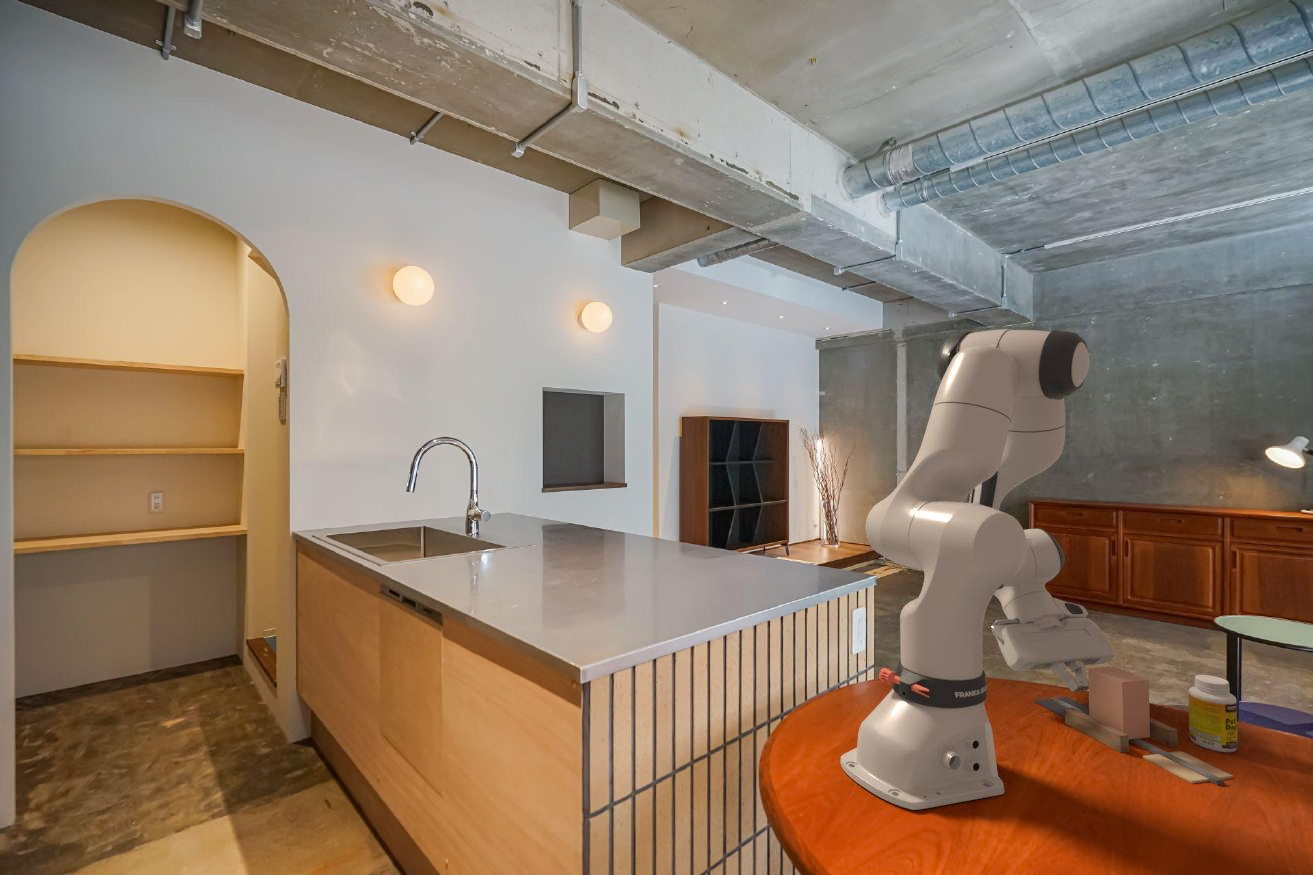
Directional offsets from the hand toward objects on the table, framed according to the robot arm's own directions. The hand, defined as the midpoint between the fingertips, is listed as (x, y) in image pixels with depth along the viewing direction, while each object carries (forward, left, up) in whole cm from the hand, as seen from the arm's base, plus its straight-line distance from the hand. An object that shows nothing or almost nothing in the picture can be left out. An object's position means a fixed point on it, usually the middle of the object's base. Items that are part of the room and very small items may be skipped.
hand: (1082, 689), depth 105 cm
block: (-2, -6, -5) cm, 8 cm away
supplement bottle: (+7, -15, -5) cm, 17 cm away
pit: (+1, +3, -5) cm, 6 cm away
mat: (-4, -17, -5) cm, 18 cm away
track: (-2, -6, -5) cm, 8 cm away
